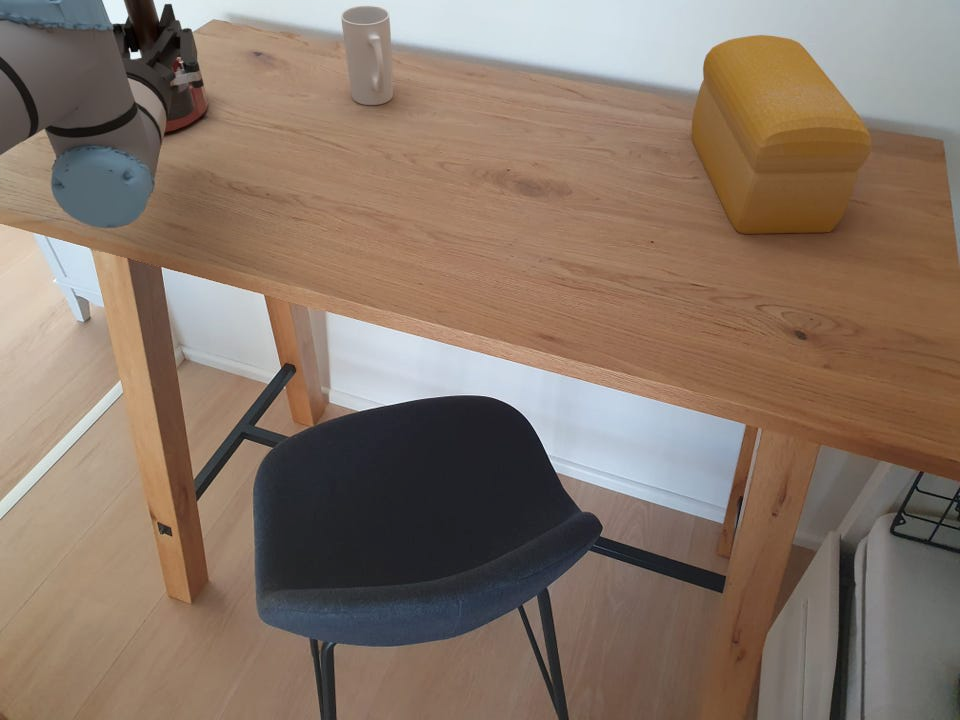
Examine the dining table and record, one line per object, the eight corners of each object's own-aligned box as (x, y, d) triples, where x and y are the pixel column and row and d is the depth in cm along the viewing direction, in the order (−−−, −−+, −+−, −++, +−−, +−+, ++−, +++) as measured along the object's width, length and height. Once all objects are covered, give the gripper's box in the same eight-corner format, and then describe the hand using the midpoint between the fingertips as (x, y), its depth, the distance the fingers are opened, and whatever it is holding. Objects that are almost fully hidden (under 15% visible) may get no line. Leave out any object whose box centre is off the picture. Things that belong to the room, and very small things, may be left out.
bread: (839, 233, 92) (887, 117, 81) (733, 235, 92) (768, 119, 81) (775, 131, 109) (808, 25, 99) (686, 132, 109) (709, 26, 98)
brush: (144, 122, 91) (97, -20, 79) (150, 100, 95) (106, -38, 83) (192, 119, 91) (153, -23, 80) (196, 97, 95) (159, -41, 84)
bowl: (90, 143, 105) (76, 109, 101) (108, 92, 116) (97, 59, 112) (204, 135, 107) (195, 101, 103) (212, 85, 117) (204, 53, 114)
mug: (345, 89, 117) (335, 9, 108) (387, 82, 119) (381, 2, 110) (362, 120, 110) (354, 36, 102) (407, 112, 112) (402, 29, 104)
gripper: (53, 152, 76) (94, 52, 92) (220, 139, 78) (231, 43, 94) (21, 79, 70) (71, -13, 87) (201, 67, 73) (217, -21, 89)
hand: (154, 16), depth 90 cm, fingers closed on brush, 3 cm apart
